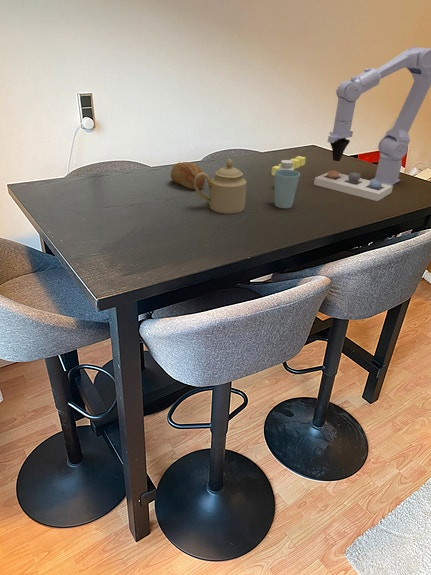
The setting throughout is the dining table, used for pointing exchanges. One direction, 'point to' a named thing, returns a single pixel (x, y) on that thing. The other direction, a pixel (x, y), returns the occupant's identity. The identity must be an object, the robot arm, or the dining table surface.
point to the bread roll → (187, 175)
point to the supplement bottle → (286, 165)
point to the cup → (285, 187)
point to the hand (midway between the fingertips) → (336, 160)
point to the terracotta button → (333, 175)
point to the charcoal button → (354, 177)
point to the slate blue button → (375, 184)
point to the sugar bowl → (225, 190)
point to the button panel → (353, 187)
